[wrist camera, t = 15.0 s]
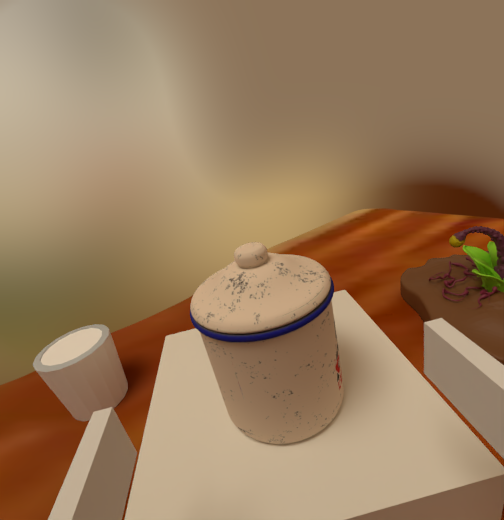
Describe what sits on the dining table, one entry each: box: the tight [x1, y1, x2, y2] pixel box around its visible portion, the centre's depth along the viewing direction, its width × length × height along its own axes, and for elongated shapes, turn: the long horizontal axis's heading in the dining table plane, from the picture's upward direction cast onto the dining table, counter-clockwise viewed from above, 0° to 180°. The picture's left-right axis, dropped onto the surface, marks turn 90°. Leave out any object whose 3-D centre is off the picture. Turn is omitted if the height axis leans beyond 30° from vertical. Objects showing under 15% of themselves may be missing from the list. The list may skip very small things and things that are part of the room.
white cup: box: [33, 324, 128, 421], centre depth 31 cm, size 7×7×7 cm
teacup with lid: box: [190, 242, 344, 444], centre depth 22 cm, size 12×9×12 cm
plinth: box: [124, 290, 504, 520], centre depth 25 cm, size 20×20×4 cm
